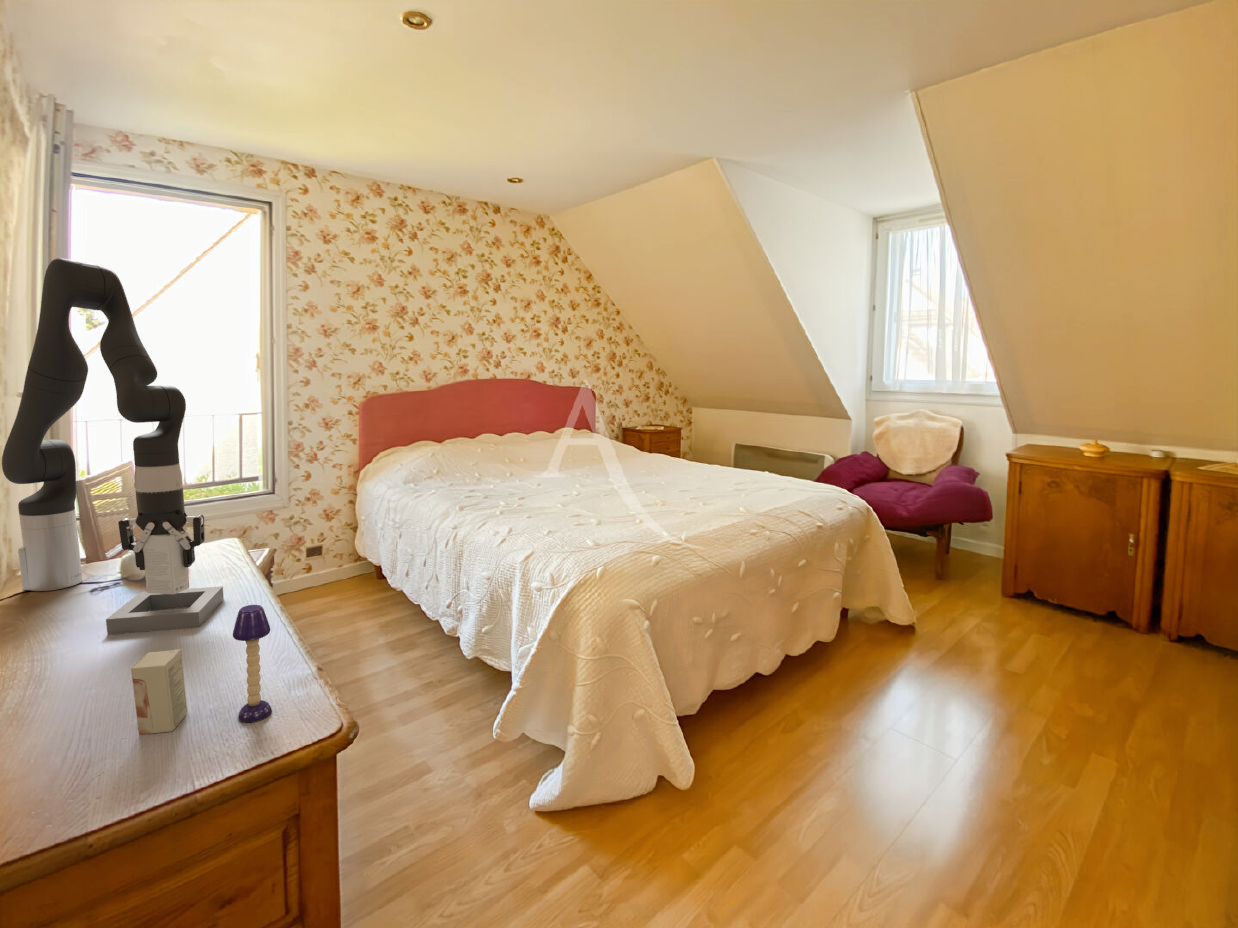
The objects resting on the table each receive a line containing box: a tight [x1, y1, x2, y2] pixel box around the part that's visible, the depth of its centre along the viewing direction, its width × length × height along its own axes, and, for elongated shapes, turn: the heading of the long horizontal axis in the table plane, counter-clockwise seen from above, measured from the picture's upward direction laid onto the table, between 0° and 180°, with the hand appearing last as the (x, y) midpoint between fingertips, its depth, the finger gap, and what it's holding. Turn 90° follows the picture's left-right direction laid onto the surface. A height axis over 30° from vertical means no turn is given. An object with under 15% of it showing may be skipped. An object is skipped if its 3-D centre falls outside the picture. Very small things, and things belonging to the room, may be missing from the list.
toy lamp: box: [232, 604, 273, 723], centre depth 88 cm, size 5×5×17 cm
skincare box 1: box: [143, 532, 190, 594], centre depth 122 cm, size 6×4×12 cm
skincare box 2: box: [130, 649, 188, 735], centre depth 86 cm, size 5×4×10 cm
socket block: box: [105, 585, 225, 635], centre depth 124 cm, size 15×15×3 cm
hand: (166, 567), depth 122 cm, fingers closed on skincare box 1, 7 cm apart
